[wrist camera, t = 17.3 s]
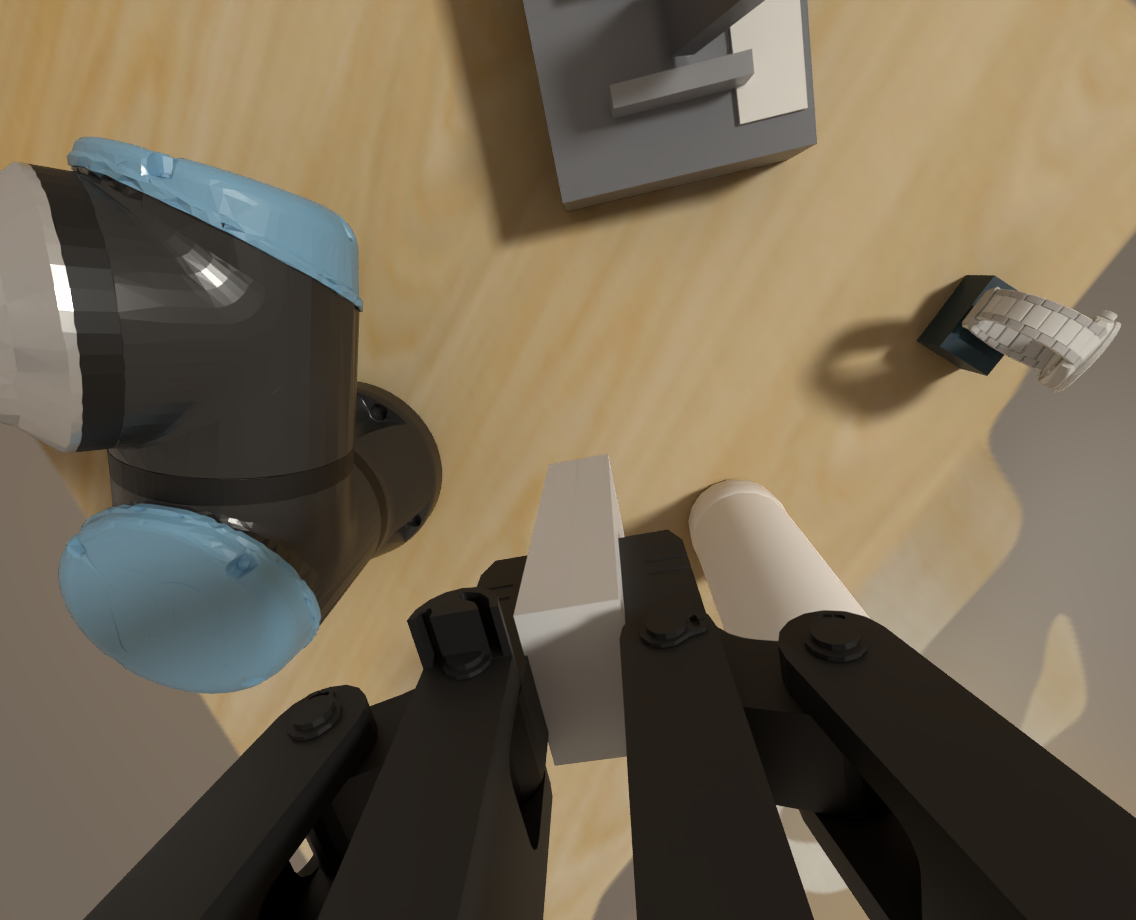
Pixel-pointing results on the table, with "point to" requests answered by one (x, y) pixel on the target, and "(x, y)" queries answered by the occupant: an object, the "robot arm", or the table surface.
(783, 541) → the bottle
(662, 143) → the box
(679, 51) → the lever
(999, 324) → the watch
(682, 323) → the table surface
